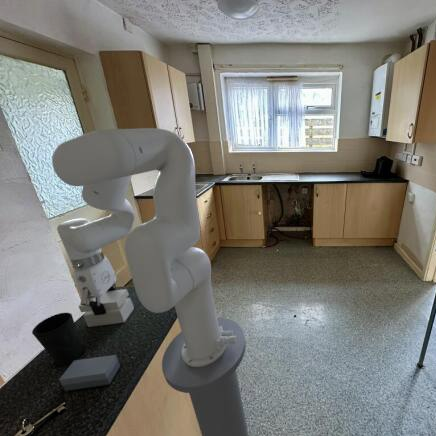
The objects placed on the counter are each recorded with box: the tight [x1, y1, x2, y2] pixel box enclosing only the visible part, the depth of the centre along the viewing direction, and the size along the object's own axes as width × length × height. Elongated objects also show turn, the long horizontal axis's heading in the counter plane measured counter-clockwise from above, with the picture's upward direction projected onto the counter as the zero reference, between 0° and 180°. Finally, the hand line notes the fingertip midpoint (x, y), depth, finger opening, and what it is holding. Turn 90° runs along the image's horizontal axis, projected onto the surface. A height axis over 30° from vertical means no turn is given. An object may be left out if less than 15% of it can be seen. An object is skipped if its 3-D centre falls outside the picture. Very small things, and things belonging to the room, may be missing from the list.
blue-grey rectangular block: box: [61, 360, 121, 392], centre depth 60 cm, size 10×5×2 cm, turn 98°
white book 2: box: [85, 303, 135, 328], centre depth 79 cm, size 11×6×2 cm, turn 97°
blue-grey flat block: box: [58, 354, 119, 386], centre depth 59 cm, size 10×5×2 cm, turn 98°
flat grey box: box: [78, 288, 130, 313], centre depth 77 cm, size 11×6×2 cm, turn 97°
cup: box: [31, 312, 84, 366], centre depth 64 cm, size 8×8×12 cm
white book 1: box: [82, 297, 133, 322], centre depth 78 cm, size 11×6×2 cm, turn 97°
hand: (107, 305), depth 78 cm, fingers closed on flat grey box, 6 cm apart
